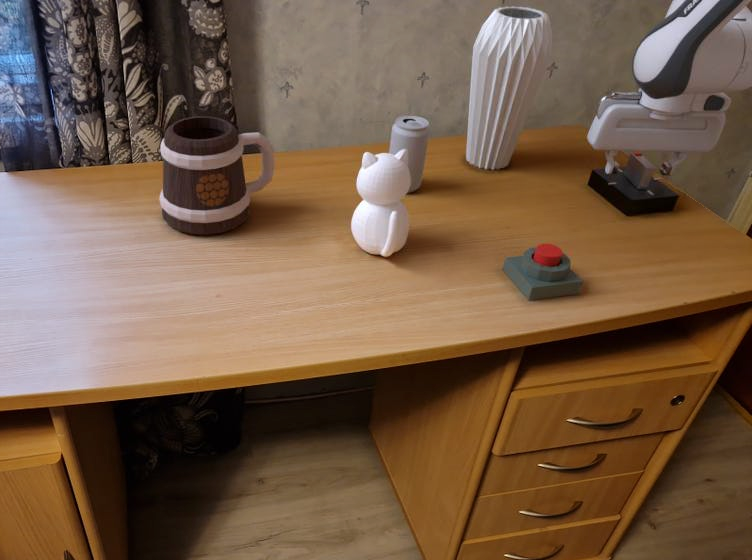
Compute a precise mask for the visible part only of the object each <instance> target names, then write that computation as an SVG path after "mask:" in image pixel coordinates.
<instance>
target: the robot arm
mask: <svg viewBox="0 0 752 560" xmlns="http://www.w3.org/2000/svg"><path fill="white" fill-rule="evenodd" d="M751 1H752V0H672V1H671V4H670V5H669V7H668V9H667V12H666V14H665V17H664V18H663V19H662V20H660V21H659V22H657V23H656V24H655V25H654V26H652V28H650V30H649V31H648V32H647V33H646V34H645V35H644V37H643V38H642V40H640V42H639V44H638V46H637V47H636V49H635V51H634V54H633V57H632V62H631V72H632V76H633V78H634V81H635V83H636V84H637V86H638V91H618V90H617V91H615V90H614V91H612V92H611V93H609V94H607V95H605V96H603V97H602V98H601V99H600V100H599V103H598V106H597V109H596V114H595V117H594V119H593V121H592V123H591V125H590V127H589V130H588V133H587V136H586V139H587V142H588V143H589V145H590V146H591V147H592V148H593V150H595V151H604V154H605V159H606V165H605V167H604V168H605V172H606V173H607V174H617V172H618V171H617V170H618V169H619V167H621V166H620V164H619V163H618V162H617V160H615V158H614V157H617V156H618V154H619V152H623V151H624V152H659V153H663V152H664V153H665V152H667V153H674V155H673V156H672V157H671V158H670V159H669V160H668V161H663V162H662V164H661V167H660V169H659V174H661V176H669V177H670V176H673V174H674V173H675V169H676V168H677V167H678V166H680V164H682V163H683V162H684V161H685V160H686V159H687V158H688V156H689V154H690V153H702V154H703V153H705V154H706V153H709V152H711V151H712V150H713V149H714V148H715V147H716V146H717V144H718V142H719V139H720V138H721V135H722V132H723V129H724V127H725V123H726V119H727V118H726V114H725V112H727V110H728V109H729V108H730V106H731V104H732V99H731V97H729V95H727V94H726V93H735V92H741V91H747V90H750V89H752V11H751V9H749V8H748V6H747V5H748V4H749V3H751Z"/></svg>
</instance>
